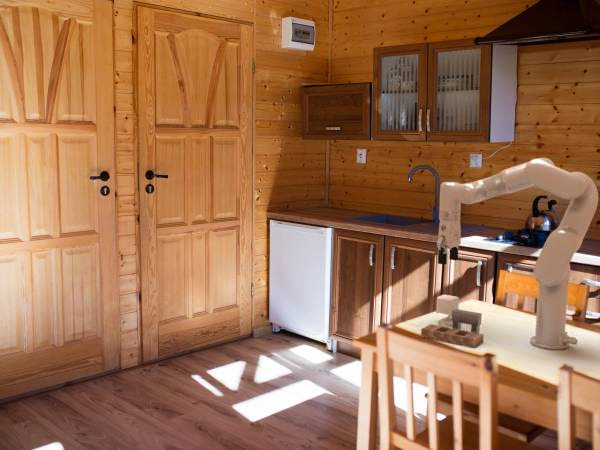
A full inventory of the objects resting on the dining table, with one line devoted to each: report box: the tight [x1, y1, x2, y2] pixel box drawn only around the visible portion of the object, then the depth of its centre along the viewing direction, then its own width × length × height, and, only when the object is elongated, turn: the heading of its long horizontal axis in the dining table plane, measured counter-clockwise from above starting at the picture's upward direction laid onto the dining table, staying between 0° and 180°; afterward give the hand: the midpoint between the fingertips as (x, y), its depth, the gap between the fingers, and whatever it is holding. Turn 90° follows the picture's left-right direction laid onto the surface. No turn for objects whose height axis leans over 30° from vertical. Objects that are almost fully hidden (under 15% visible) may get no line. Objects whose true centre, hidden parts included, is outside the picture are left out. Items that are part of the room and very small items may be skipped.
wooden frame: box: [420, 323, 484, 349], centre depth 243 cm, size 20×8×3 cm, turn 54°
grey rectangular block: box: [451, 308, 482, 333], centre depth 250 cm, size 10×3×8 cm, turn 54°
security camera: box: [435, 294, 460, 327], centre depth 263 cm, size 6×7×10 cm
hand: (447, 261), depth 255 cm, fingers open, 9 cm apart
